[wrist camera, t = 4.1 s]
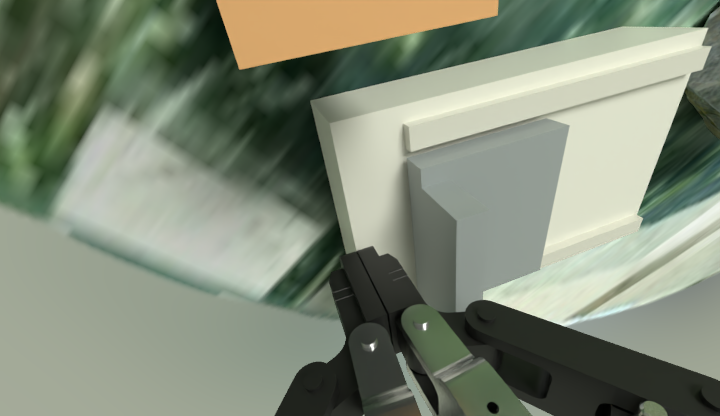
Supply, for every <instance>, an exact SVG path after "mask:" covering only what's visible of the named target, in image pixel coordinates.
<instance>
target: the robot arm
mask: <svg viewBox="0 0 720 416" xmlns="http://www.w3.org/2000/svg"><path fill="white" fill-rule="evenodd" d="M339 259H340V263H341V267H342V269H339V270H336V271H333V272H331V276H330V281H329V283H330V287H331V290H332V294H333V298H334V301H335V305H336V308H337V311H338V314H339V317H340V320H341V323H342V326H343V329H344V332H345V335H346V341H345V345H344V347H343V349H342V350H341V351H340V353H339V354H338V355H337V356H336V357H335V358H333V359H332V360H331V361H329V362H328V363H327V364H326V363H324V362H313V363H310V364H308V365H306V366H304V367H303V368H302V369H301V370H299V372H298V373H297V374H296V376H295V378H294V380H293V382H292V383H291V385H290V387H289V389H288V391H287V393H286V395H285V397H284V399H283V401H282V403H281V405H280V406H279V408H278V410H277V412H276V414H275V416H363V415H365V416H421V413H420V411H419V408H418V406H417V403H416V400H415V398H414V395H413V393H412V391H411V390H410V389H409V388H408V386H407V383H406V381H405V378H404V375H403V372H402V370H401V367H400V365H399V362H398V359H397V356H396V354H397V353H399V352H402V354H403V356H404V358H405V360H406V366H407V370H408V372H409V374H410V376H411V378H412V379H413V381H414V383H415V385H416V387H417V388H418V390H419V392H420V394H421V396H422V397H423V399H424V401H425V403H426V404H427V406H428V408H429V410H430V411H431V413H432V415H433V416H532V415H531V414H530V413H529V411H528V410H527V409H526V408H525V406H524V405H523V404H522V403H521V402H520V400H519V399H521V400H522V401H525V402H527V403H529V404H531V405H533V406H535V407H537V408H539V409H541V410H543V411H545V412H547V413H550V414H551V415H554V416H720V381H718V380H716V379H713V378H711V377H708V376H705V375H702V374H700V373H697V372H694V371H691V370H688V369H685V368H682V367H679V366H676V365H673V364H671V363H668V362H665V361H662V360H659V359H656V358H653V357H650V356H647V355H645V354H642V353H639V352H636V351H633V350H630V349H627V348H625V347H622V346H619V345H615V344H613V343H610V342H607V341H604V340H601V339H599V338H595V337H593V336H590V335H587V334H584V333H581V332H578V331H576V330H573V329H570V328H567V327H564V326H561V325H558V324H555V323H553V322H550V321H547V320H544V319H541V318H538V317H535V316H532V315H529V314H527V313H524V312H521V311H518V310H515V309H512V308H509V307H506V306H504V305H501V304H498V303H495V302H492V301H488V300H477V301H474V302H472V303H470V304H469V305H468V306H467V308H466V310H465V312H450V313H446V312H440V311H437V310H436V309H434V308H433V307H431V306H428V305H427V304H426V302H425V301H424V300H423V298H422V296H421V295H420V293H419V292H418V290H417V289H416V287H415V286H414V284H413V283H412V281H411V280H410V278H409V276H407V273H406V272H405V270H404V269H403V267H402V266H401V264H400V263H399V261H398V260H397V259H396V258H395V257H393V256H391V255H390V254H388V253H387V254H384V255H381V256H379V255H378V253H377V252H376V250H375V248H374V247H373V246H370V247H367V248H364V249H361V250H358V251H355V252H352V253H349V254H346V255H342V256H339Z"/></svg>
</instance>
